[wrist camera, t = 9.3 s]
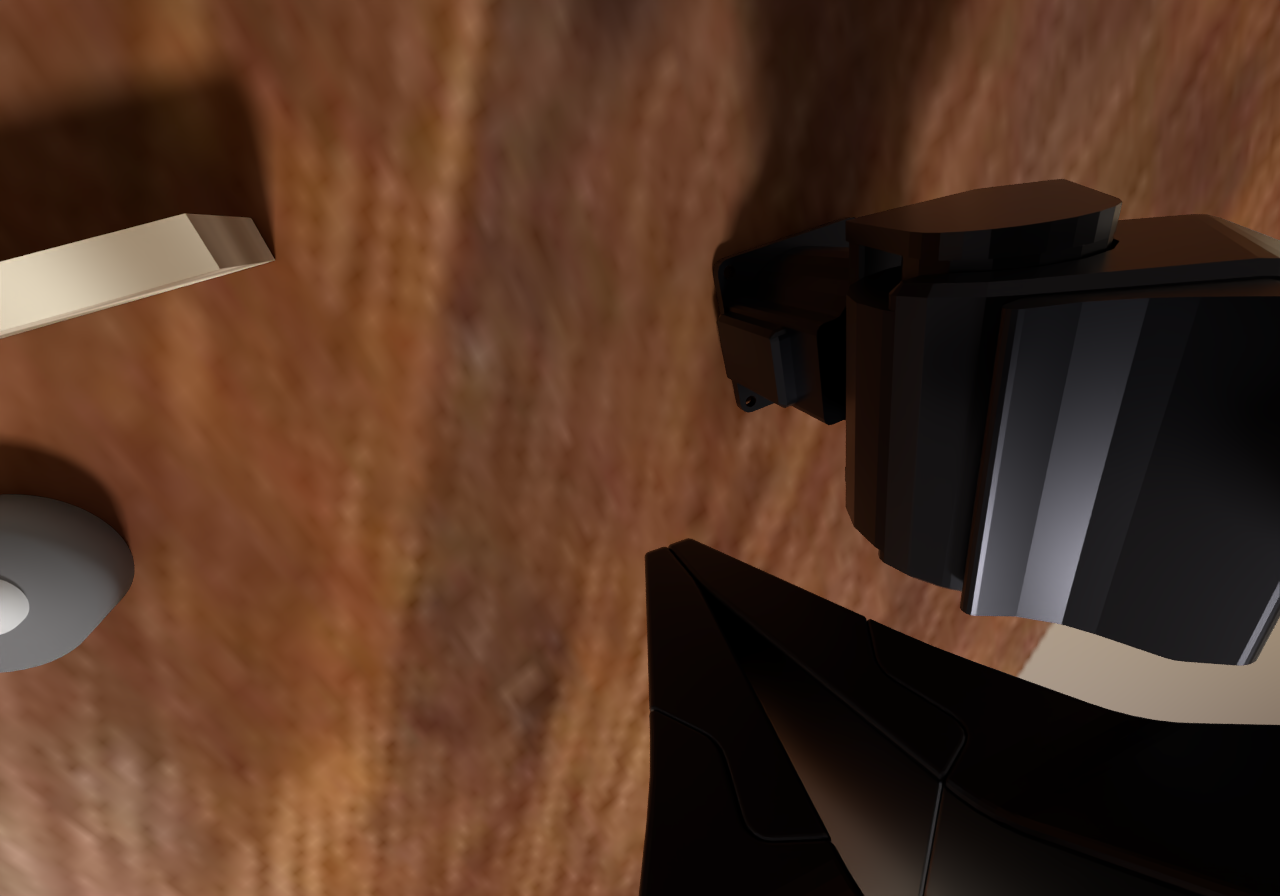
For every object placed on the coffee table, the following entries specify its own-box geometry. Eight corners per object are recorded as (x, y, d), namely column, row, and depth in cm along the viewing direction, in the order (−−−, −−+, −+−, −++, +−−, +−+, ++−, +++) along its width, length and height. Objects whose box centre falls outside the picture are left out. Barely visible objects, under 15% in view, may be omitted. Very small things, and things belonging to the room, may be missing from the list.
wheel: (57, 469, 15) (0, 504, 13) (170, 588, 18) (135, 631, 16) (-136, 535, 14) (-227, 581, 12) (9, 649, 17) (-49, 704, 15)
